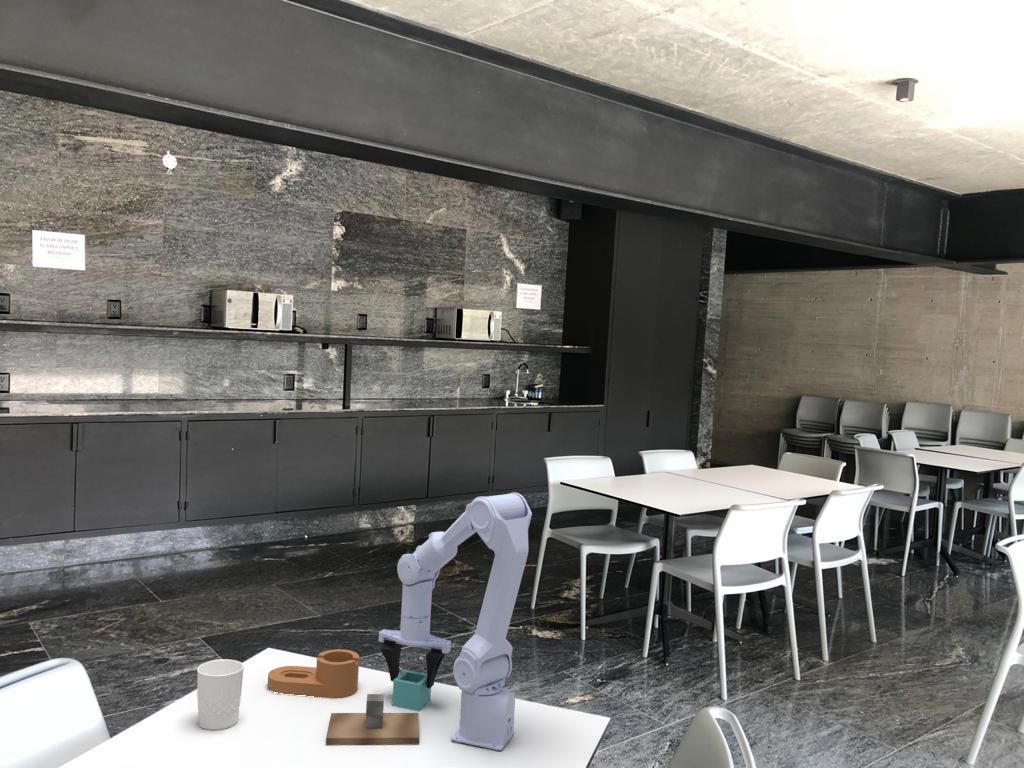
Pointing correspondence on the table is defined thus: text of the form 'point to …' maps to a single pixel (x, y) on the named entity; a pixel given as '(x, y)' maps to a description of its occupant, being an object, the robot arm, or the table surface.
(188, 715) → the table surface
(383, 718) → the post stand
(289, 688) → the bracket
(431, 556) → the robot arm
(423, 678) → the teal collar
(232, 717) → the white cup
